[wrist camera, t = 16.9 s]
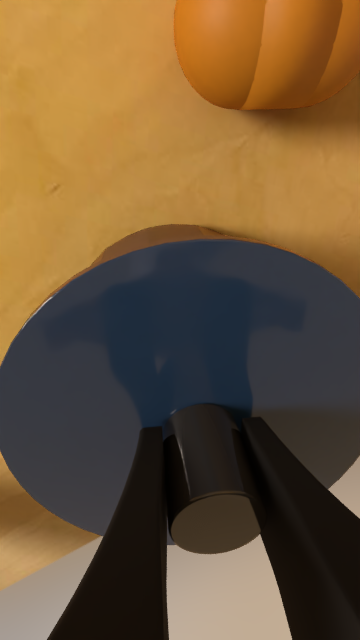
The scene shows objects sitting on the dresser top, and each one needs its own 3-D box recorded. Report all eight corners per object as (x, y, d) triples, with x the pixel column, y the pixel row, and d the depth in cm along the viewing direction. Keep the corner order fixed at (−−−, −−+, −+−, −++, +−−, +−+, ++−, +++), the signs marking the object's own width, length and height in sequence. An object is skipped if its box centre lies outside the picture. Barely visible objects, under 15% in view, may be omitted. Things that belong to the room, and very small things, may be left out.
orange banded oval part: (328, 30, 15) (413, -129, 10) (342, 133, 15) (438, 21, 10) (166, 31, 14) (171, -136, 9) (175, 139, 14) (185, 22, 9)
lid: (414, 218, 10) (589, 262, 6) (332, 502, 16) (392, 614, 12) (-54, 242, 9) (-206, 312, 5) (50, 536, 15) (18, 670, 11)
